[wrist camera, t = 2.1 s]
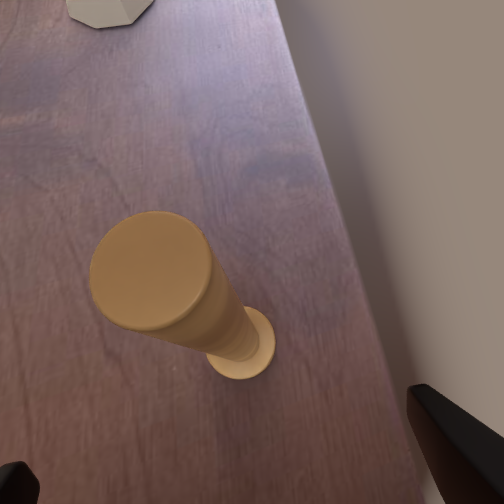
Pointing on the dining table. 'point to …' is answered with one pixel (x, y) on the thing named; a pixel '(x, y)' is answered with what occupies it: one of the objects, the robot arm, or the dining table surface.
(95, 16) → the flask
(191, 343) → the tan wooden rod
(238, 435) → the dining table surface
